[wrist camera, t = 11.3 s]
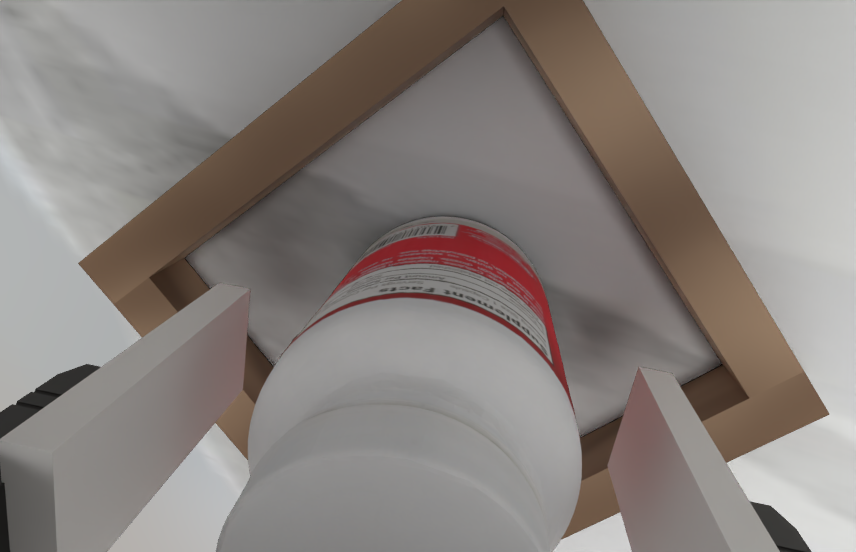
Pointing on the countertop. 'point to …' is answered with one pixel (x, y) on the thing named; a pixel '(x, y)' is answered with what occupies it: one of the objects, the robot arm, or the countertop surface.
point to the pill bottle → (417, 409)
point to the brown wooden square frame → (604, 139)
